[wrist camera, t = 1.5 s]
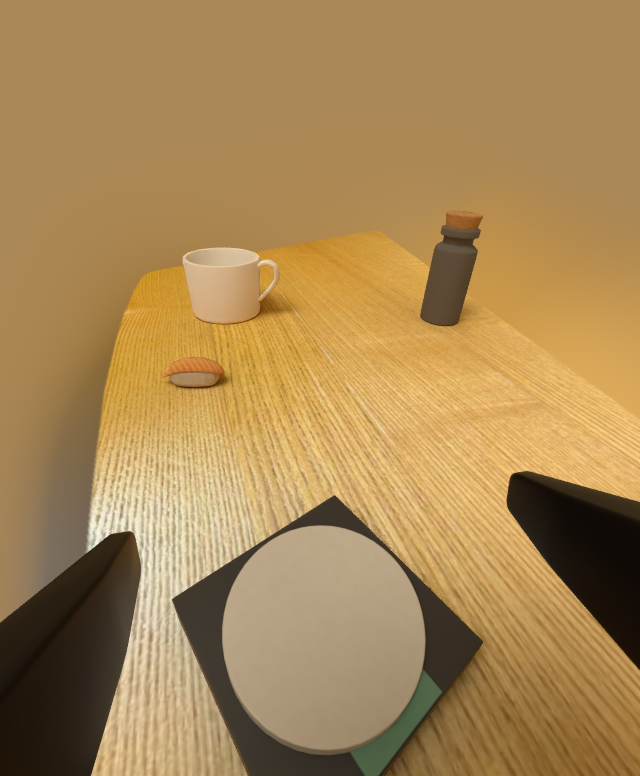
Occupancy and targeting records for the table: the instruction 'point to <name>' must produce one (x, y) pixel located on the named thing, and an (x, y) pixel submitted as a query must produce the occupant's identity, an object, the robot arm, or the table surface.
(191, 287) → the mug
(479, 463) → the table surface
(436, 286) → the bottle
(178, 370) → the sushi
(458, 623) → the scale
